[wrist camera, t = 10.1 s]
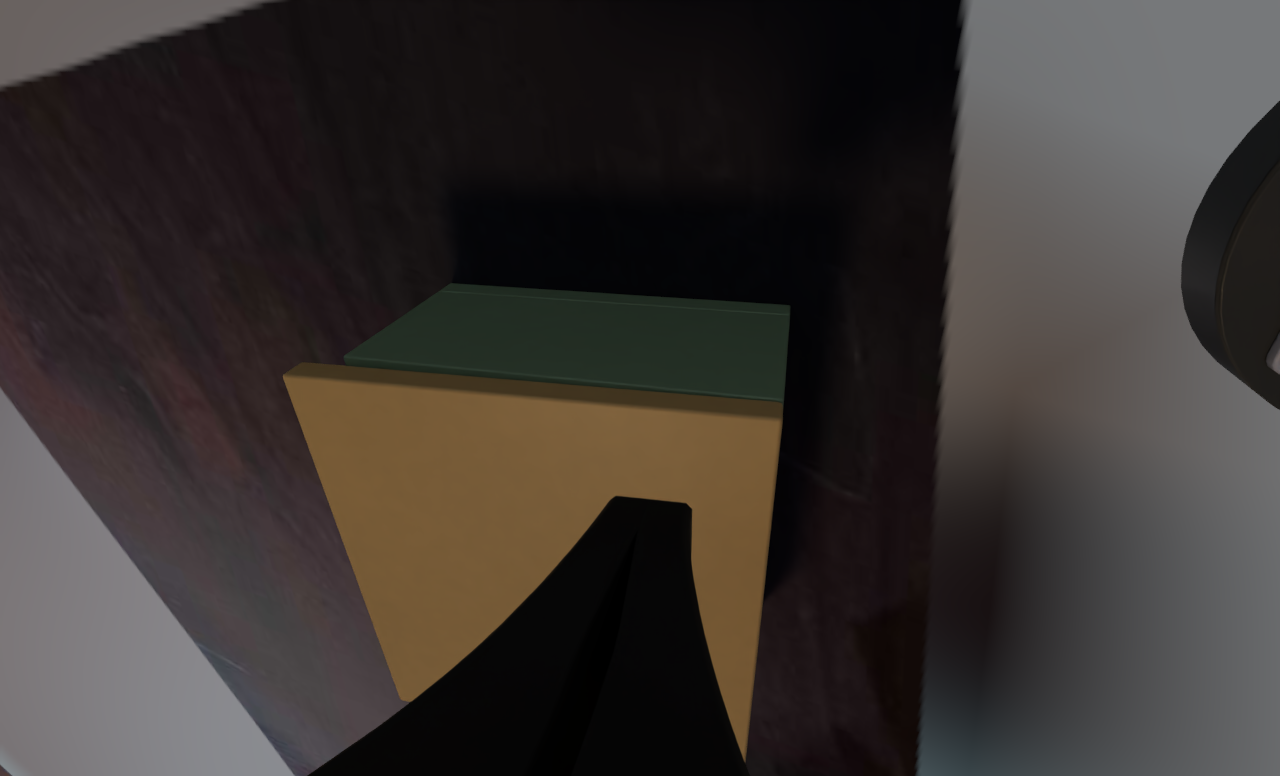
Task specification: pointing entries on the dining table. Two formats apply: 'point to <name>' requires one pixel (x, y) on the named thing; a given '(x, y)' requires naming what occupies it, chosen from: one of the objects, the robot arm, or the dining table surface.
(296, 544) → the dining table surface
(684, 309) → the green open cubby
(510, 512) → the yellow box lid
